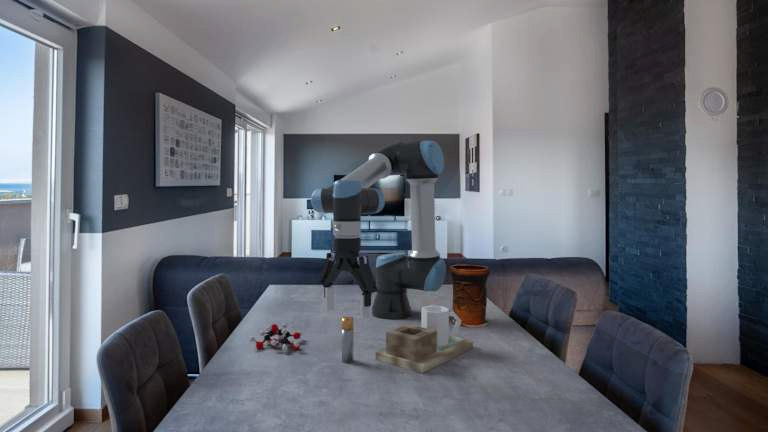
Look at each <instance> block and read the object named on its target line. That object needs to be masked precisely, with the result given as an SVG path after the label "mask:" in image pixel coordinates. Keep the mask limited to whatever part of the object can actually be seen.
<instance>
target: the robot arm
mask: <svg viewBox="0 0 768 432" xmlns="http://www.w3.org/2000/svg"><path fill="white" fill-rule="evenodd" d="M444 167H445V156H444V152H443V150H442V148H441V146H440V145H439V144H438V142H437V141H434V140H417V141H404V142H403V141H402V142H401V141H400V142H394V143H392V144H389V145H386V146H384V147H383V148H381V149H379V150H376V151H375V152H374V153H372V154H371V155H370V156H369V157H368V159H367V161H366V162H364V163H363V164H361V165H360V166H358V167H357V168H356V169H354V170H353V171H351V172H350V173H348V174H346V175H345V176H344V177H342V178H340V179H338V180H336V181H334V182H333V184H332V185H331V186H328V187H321V188H316V189H315V190H314V191H313V192H312V194H311V197H310V203H311V207H312V209H313V210H314V211H315V212H317V213H320V214H321V213H324V214H333V219H332V222H333V223H332V226H333V227H332V229H333V231H332V232H333V233H332V235H333V236H334V237H333V239H332V249H333V252H326V256H325V257H326V259H325V263H324V265H323V267H322V268H323V269H322V271H321V274H320V275H319V276H320V277H319V279H318V284H319V285H322V287H323V294H324V295H323V297H324V302H325V305H324V306H325V308H324V310H325V311H326V312H328V311H333V310H335V286H334V283H335V281H336V280H337V278H338V277H339V275H340V274H341V272H342V271H343V272H344V271H345V272H347V273H350V274H351V275H352V276H353V278H354V279H355V281H356V283H357V285H358V287H359V289H360V290H361V292H362V293H361V294H360V320H366V319H369V318H370V313H371V314H372V316H373V317H374V318H378V319H387V320H388V319H389V320H390V319H392V320H393V319H396V320H397V319H402V318H408V317H410V316H411V315H412V306H411V304H410V300H409V298H408V297H409V296H408V293H407V290H408V289H409V290H415V291H424V292H437V291H438V290H440V289H441V288H442V286H443V284H444V281H445V279H446V274H447V264H446V261H445V260H443V258H442V259H441V253H440V252H439V251H438V250H437V248H436V211H435V208H436V207H435V206H436V205H435V183H436V182H437V181H438V180H439V175H440V174H442V172H443V171H444ZM393 175H396V176H397V175H405V181H406V182H408V184H409V190H410V220H411V221H410V229H411V251H409V252H408V253H407V252H393V253H387V254H381V255H379V256H377V257H376V264H375V277H374V274H373V273H372V269H371V267H370V261H369V256H368V255H362V256H360V251H361V249H362V248H361V247H362V246H361V245H362V244H361V243H362V241H361V237H360V236H361V235H362V230H361V229H362V227H361V226H362V225H361V224H362V223H361V221H362V216H361V215H374V214H378V213H380V212H382V210H383V209H384V207H385V204H386V199H385V195H384V193H383V192H382V191H381V190H379V189H377V188H374V187H371V186H373V185H374V184H375V183H376V182H378V181H380V180H381V179H383V180H384V179H386V178H388V177H389V176H393ZM375 278H376V279H375ZM375 280H376V281H375ZM373 293H375V298H374V301H373V303H372V294H373ZM372 304H373V305H372ZM371 306H372V307H371ZM370 307H371V312H370Z"/></svg>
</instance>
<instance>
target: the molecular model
mask: <svg viewBox="0 0 768 432" xmlns="http://www.w3.org/2000/svg"><path fill="white" fill-rule="evenodd" d="M281 327H282V329H280V328H279V327H278V324H277V323H272V324H271V325H267V326H266V327H265V330H260V332H259V336H260V337H263V340H262V341H258V340H256V338H255V336H252V335H251V336H250V337H249V339H248V340H249V342H250V343H253V342H254V343H256V344H255V348H256V349H258V350H261V349H264V343H265V342H266V344H267V345H268V346H270V345H271V346H272V347H277V346H278V345H279V344H280V343H281V345H282V348H281V350H282V351H284V352H286V351H288V346H289V345H290V346H291V348H292V349H293V351H297V350H299V349H300V346H301V345H300V342H299V341H296V340H299V339H300V338H301V336H302V334H303V332H302V331H301V330H297V331H295V332H294V333H293V334H291V333H290V331H288V330H287V329H286V328H288V324H287V323H286V322H283V323H282V324H281ZM274 336H277V338H278V339H277V338H273V339H272V338H271V337H274ZM290 337H293V339H295V340H293V341H290V340H289V339H288V338H290Z"/></svg>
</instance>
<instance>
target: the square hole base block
mask: <svg viewBox="0 0 768 432" xmlns="http://www.w3.org/2000/svg"><path fill="white" fill-rule="evenodd" d="M385 334H386V335H385V348H382V349H379V350H377V351H375V360H377V361H380V362H383V363H386V364H390V365H394V366H397V367H400V368H402V369H406V370H410V371H413V372H416V373H418V374H419V373H420V374H424V373H426V372H428V371H430V370H432V369H434V368H436V367H438V366H440V365H442V364H444V363H446V362H447V361H450V360H452V359H454V358H456V357H457V356H459V355H461V354H463V353H465V352H467V351H469V350H471V349H472V348H474V340H470V339H466V338H463V337H458V336H452V335H449V342H448V344H447V345H443V346H437V331H435V330H431V329H427V328H422V327H421V326H418V325H412V324H404V325H402V326H400V327H396V328H395V329H394V328H393V329H390V330H388V331H386V332H385Z"/></svg>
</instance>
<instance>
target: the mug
mask: <svg viewBox="0 0 768 432" xmlns="http://www.w3.org/2000/svg"><path fill="white" fill-rule="evenodd" d="M420 310H421V313H420V314H421V316H420V317H421V318H420V320H421V326H420V327H422V328H427V329H431V330H435V331H437V346H443V345H447V344H448V342H449V334H450V331H449V329H450V328H449V327H450V325H449V324H450V323H449V322H450V318H449V317H453V319H456V323H455V324H454V326H453V328H452V331H451V332H452V334H453V335H456V336H458V334H459V331H460V326H461V320H460V319H459V317H458V316H457V315H456V314H455V313H454V311H450V309H449V307H445V306H443V305H426V306H422V308H421V309H420Z"/></svg>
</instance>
